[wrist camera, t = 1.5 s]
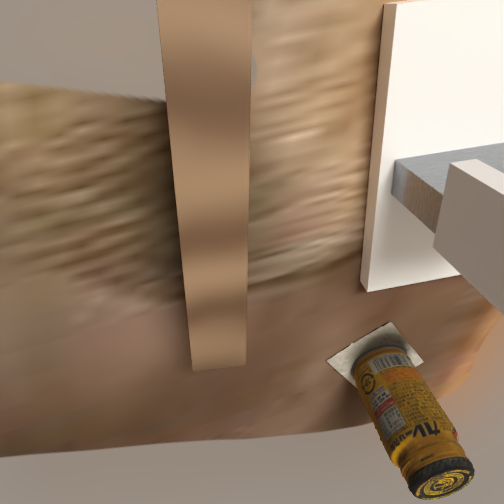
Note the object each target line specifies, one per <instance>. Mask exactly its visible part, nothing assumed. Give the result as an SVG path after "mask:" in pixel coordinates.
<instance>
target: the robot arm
mask: <svg viewBox="0 0 504 504" xmlns="http://www.w3.org/2000/svg"><path fill="white" fill-rule="evenodd" d="M433 248H434V249H435V250H436V251H437V252H438V253H439V254H440V255H441V256H442V257H443V258H444V259H445V260H446V261H447V262H449V263H450V264H451V265H452V266H453V267H454V268H455V269H456V270H457V271H458V272H459V273H460V274H461V275H462V276H463V277H464V278H465V279H466V280H467V281H468V282H469V283H470V284H471V285H472V286H474V287H475V288H476V289H477V290H478V291H479V292H480V293H481V294H482V295H483V296H484V297H485V298H486V299H487V300H488V301H489V302H490V303H491V304H492V305H493V306H494V307H495V308H496V309H497V310H499V311H500V312H501V313H502V314H503V315H504V173H502V172H500V171H498V170H496V169H495V168H493V167H491V166H489V165H487V164H485V163H483V162H481V161H479V160H478V159H471V160H465V161H459V162H452V163H450V164H449V169H448V174H447V179H446V184H445V189H444V194H443V199H442V203H441V208H440V213H439V218H438V223H437V228H436V233H435V238H434V242H433Z"/></svg>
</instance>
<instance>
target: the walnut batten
mask: <svg viewBox="0 0 504 504" xmlns="http://www.w3.org/2000/svg"><path fill="white" fill-rule="evenodd" d="M156 1H157V11H158V20H159V32H160V41H161V52H162V62H163V72H164V82H165V93H166V103H167V113H168V124H169V134H170V144H171V154H172V164H173V175H174V185H175V195H176V205H177V216H178V226H179V236H180V246H181V256H182V267H183V277H184V287H185V297H186V308H187V318H188V328H189V338H190V348H191V359H192V369H193V372H197V371H206V370H214V369H222V368H230V367H238V366H246V328H247V270H248V212H249V154H250V96H251V38H252V0H156Z"/></svg>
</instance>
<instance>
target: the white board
mask: <svg viewBox="0 0 504 504" xmlns="http://www.w3.org/2000/svg"><path fill="white" fill-rule="evenodd" d="M497 143H504V0H408V1H400V2H391V3H384V12H383V23H382V35H381V46H380V57H379V69H378V80H377V92H376V103H375V115H374V126H373V138H372V149H371V160H370V172H369V183H368V195H367V206H366V218H365V229H364V241H363V252H362V264H361V275H360V282H361V283H362V285H363V286H364V288H365V289H366V291H367V292H371V291H376V290H381V289H387V288H392V287H397V286H402V285H408V284H413V283H418V282H424V281H429V280H434V279H440V278H445V277H450V276H456V275H461V274H460V273H459V272H458V271H457V270H456V269H455V268H454V267H453V266H452V265H451V264H450V263H449V262H447V261H446V260H445V259H444V258H443V257H442V256H441V255H440V254H439V253H438V252H437V251H436V250H435V249H434V248H433V242H434V238H435V234H434V233H433V232H432V231H431V230H430V229H429V228H428V227H427V226H425V225H424V224H423V223H422V222H421V221H420V220H419V219H418V218H417V217H416V216H415V215H413V214H412V213H411V212H410V211H409V210H408V209H407V208H406V207H405V206H404V205H403V204H401V203H400V202H399V201H398V200H397V199H396V198H395V197H394V196H393V195H392V194H391V189H392V181H393V173H394V165H395V159H402V158H408V157H414V156H421V155H427V154H434V153H440V152H446V151H453V150H459V149H465V148H472V147H478V146H484V145H491V144H497Z"/></svg>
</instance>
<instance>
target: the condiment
mask: <svg viewBox="0 0 504 504" xmlns="http://www.w3.org/2000/svg"><path fill="white" fill-rule="evenodd" d="M327 362H328V363H329V364H330V365H331V366H332V367H334V368H335V369H336V370H337V371H338V372H339V373H340V374H341V375H343V376H344V377H345V378H346V379H347V380H348V381H350V382H351V383H352V384H353V385H354V386H355V387H356V388H357V389H358V392H359V393H360V396H361V399H362V401H363V403H364V405H365V407H366V409H367V411H368V413H369V415H370V417H371V419H372V421H373V423H374V425H375V428H376V429H377V431H378V434H379V436H380V440H381V441H382V443H383V445H384V447H385V450H386V452H387V454H388V455H389V458H390V460H391V461H392V462H393V463H394V464H395V465H396V466H397V467H399V468H400V470H401V473H402V476H403V477H404V478H405V480H406V481H407V484H408V488H409V490H410V491H411V492H412V494H413V495H414V496H415V497H417V498H419V499H423V500H431V499H432V500H433V499H439V498H442V497H446V496H449V495H451V494H453V493H455V492H456V491H459V490H461V489H462V488H464V487H465V486H467V485H468V484H469V482H470V481H471V480H472V478H473V476H474V468H473V465H472V463H471V462H470V461H469V459H468V458H467V457H466V455H465V452H464V450H463V448H462V447H461V446H460V444H458V434H457V432H456V430H455V428H454V427H453V424H452V423H451V422H450V420H449V418H448V417H447V415H446V414H445V412H444V411H443V409H442V408H441V406H440V405H439V403H438V402H437V400H436V398H435V397H434V395H433V394H432V392H431V391H430V389H429V388H428V386H427V384H426V383H425V381H424V380H423V378H422V377H421V375H420V373H419V372H418V370H417V369H416V366H418V365H419V364H421V363H422V362H423V360H422V359H421V358H420V357H419V355H418V354H417V353H416V352H415V351H414V349H413V348H412V347H411V346H410V344H409V343H408V342H407V341H406V340H405V339H404V337H403V336H402V335H401V333H400V332H399V331H398V330H397V329H396V328H395V326H394V325H393V324H392V323H391V322H390V323H388V324H386V325H385V326H382V327H380V328H378V329H377V330H375V331H373V332H372V333H370V334H368V335H366V336H364V337H363V338H361V339H360V340H358V341H357V342H355V343H351V345H350V346H349V347H347V348H346V349H344V350H343V351H341V352H339V353H337V354H336V355H335V356H333V357H332V358H330V359H329V360H327Z"/></svg>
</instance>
